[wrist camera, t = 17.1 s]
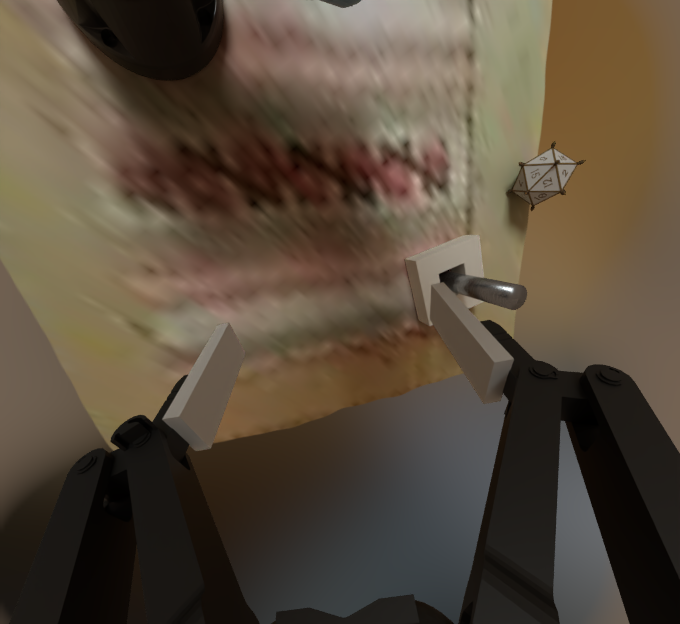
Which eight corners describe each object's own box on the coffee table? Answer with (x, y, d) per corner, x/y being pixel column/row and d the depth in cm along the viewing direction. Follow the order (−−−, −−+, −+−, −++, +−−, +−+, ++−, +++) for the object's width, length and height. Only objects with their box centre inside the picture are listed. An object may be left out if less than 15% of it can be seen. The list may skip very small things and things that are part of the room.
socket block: (404, 259, 41) (415, 261, 38) (463, 235, 43) (479, 235, 40) (418, 320, 45) (429, 326, 42) (471, 296, 47) (486, 300, 44)
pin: (431, 273, 43) (505, 290, 30) (446, 267, 44) (526, 281, 30) (434, 289, 45) (507, 313, 31) (448, 283, 45) (527, 304, 31)
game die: (506, 177, 46) (580, 144, 39) (515, 221, 46) (590, 195, 39) (495, 160, 40) (580, 117, 33) (504, 211, 39) (592, 178, 32)
